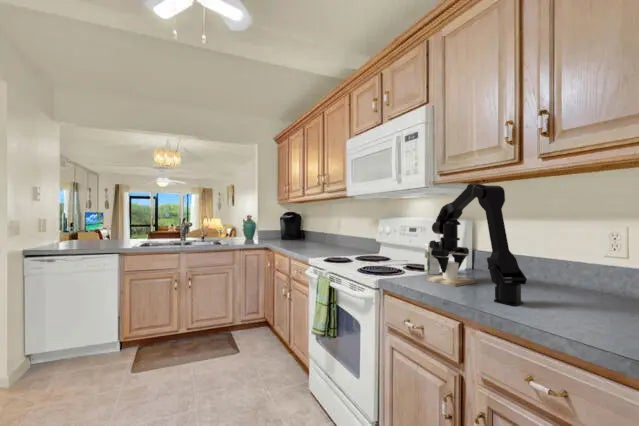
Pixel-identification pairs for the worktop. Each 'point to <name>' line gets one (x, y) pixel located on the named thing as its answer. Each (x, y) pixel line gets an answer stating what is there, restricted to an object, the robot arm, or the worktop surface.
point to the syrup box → (430, 261)
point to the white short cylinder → (451, 271)
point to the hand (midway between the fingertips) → (450, 271)
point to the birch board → (455, 283)
